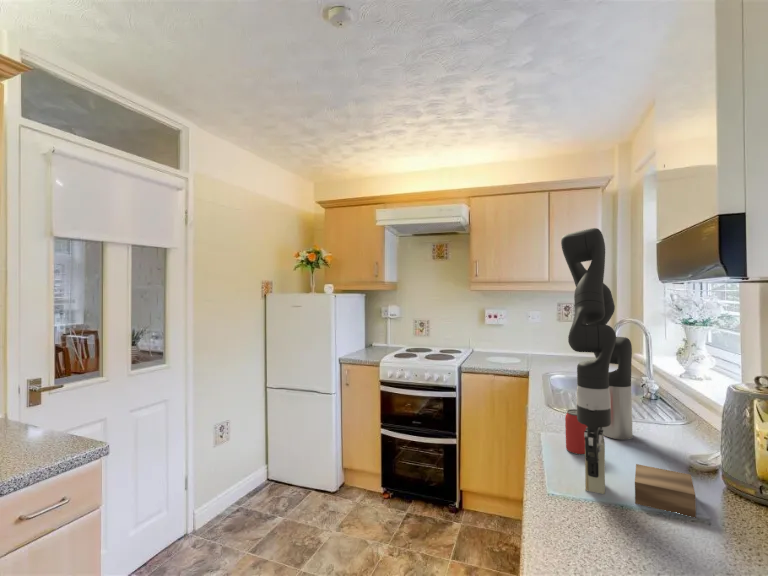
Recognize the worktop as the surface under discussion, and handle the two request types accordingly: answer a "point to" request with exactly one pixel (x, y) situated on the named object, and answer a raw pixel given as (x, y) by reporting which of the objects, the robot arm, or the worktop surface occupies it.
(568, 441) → the beer can
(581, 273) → the robot arm
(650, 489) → the walnut block
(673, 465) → the worktop surface
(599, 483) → the skincare box
